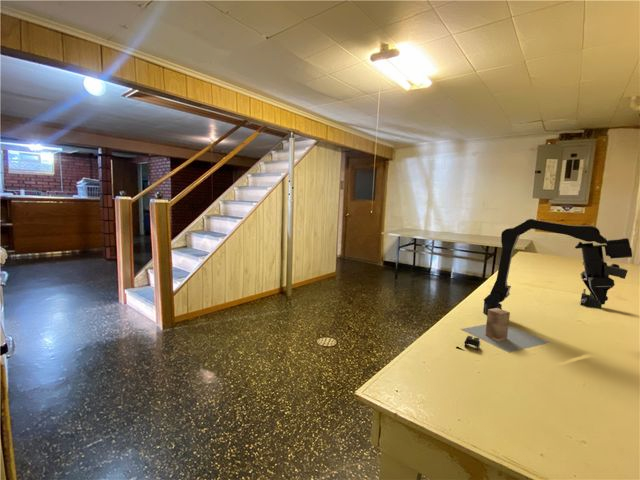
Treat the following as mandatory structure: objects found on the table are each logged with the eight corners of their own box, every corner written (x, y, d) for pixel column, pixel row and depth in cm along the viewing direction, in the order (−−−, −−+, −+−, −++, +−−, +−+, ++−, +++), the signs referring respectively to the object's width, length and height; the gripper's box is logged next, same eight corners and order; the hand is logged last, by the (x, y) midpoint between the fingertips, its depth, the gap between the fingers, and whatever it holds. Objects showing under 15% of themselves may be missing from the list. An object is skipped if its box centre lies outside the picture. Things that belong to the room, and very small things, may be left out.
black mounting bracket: (493, 353, 105) (495, 340, 105) (490, 361, 99) (491, 347, 99) (455, 342, 113) (456, 330, 112) (449, 349, 107) (450, 336, 106)
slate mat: (460, 331, 121) (460, 329, 121) (498, 323, 130) (498, 321, 130) (509, 354, 103) (509, 352, 103) (549, 344, 112) (550, 342, 112)
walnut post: (485, 335, 116) (487, 309, 115) (494, 333, 118) (497, 307, 117) (497, 340, 112) (500, 314, 110) (507, 338, 114) (509, 312, 112)
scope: (584, 276, 162) (610, 280, 155) (580, 302, 164) (606, 307, 157) (583, 279, 156) (610, 283, 149) (579, 306, 157) (606, 311, 151)
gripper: (631, 260, 103) (638, 307, 102) (615, 254, 119) (621, 295, 118) (588, 263, 108) (594, 307, 108) (577, 257, 124) (583, 296, 124)
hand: (599, 301), depth 115 cm, fingers open, 9 cm apart
